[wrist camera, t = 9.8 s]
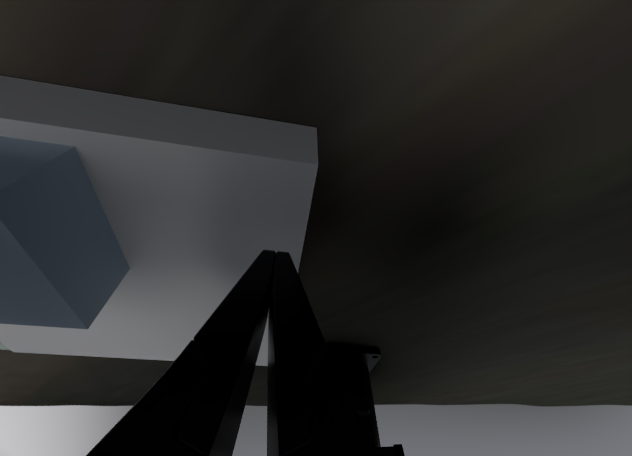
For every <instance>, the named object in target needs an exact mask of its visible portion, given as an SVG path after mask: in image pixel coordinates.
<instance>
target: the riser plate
mask: <svg viewBox="0 0 632 456" xmlns="http://www.w3.org/2000/svg"><path fill="white" fill-rule="evenodd" d="M0 136H4V137H11V138H18V139H25V140H32V141H39V142H46V143H53V144H60V145H68V146H75V148H76V151H77V153H78V155H79V157H80V159H81V162H82V164H83V166H84V168H85V170H86V173H87V175H88V177H89V179H90V181H91V184H92V186H93V188H94V190H95V192H96V195H97V197H98V199H99V201H100V203H101V206H102V208H103V210H104V212H105V214H106V217H107V219H108V221H109V223H110V225H111V228H112V230H113V232H114V234H115V236H116V239H117V241H118V243H119V245H120V247H121V250H122V252H123V254H124V256H125V258H126V261H127V263H128V265H129V267H130V270H129V271H128V272H127V274H126V275H125V277H124V278H123V280H122V281H121V282H120V284H119V285H118V287H117V288H116V290H115V291H114V293H113V294H112V295H111V297H110V298H109V300H108V301H107V303H106V304H105V305H104V307H103V308H102V310H101V311H100V313H99V314H98V315H97V317H96V318H95V320H94V321H93V323H92V324H91V326H90V327H89V328H88V329H74V328H59V327H44V326H29V325H13V324H0V343H2V344H3V345H4V346H6V347H7V348H8V349H10V350H11V351H12V352H22V353H40V354H59V355H77V356H95V357H113V358H132V359H150V360H168V361H175V360H176V358H177V357H178V356H179V355H180V354H181V352H182V351H183V350H184V349H185V347H186V346H187V345H188V344H189V342H190V341H191V340H194V339H193V338H194V336H195V335H196V334H197V332H198V331H199V330H200V329H201V327H202V326H203V325H204V324H205V322H206V321H207V320H208V318H209V317H210V316H211V315H212V313H213V312H214V311H215V310H216V308H217V307H218V306H219V305H220V303H221V302H222V301H223V300H224V298H225V297H226V296H227V294H228V293H229V292H230V291H231V289H232V288H233V287H234V286H235V284H236V283H237V282H238V281H239V279H240V278H241V277H242V275H243V274H244V273H245V272H246V270H247V269H248V268H249V267H250V265H251V264H252V263H253V262H254V260H255V259H256V258H257V257H258V255H259V254H260V253H261V252H262V251H263V250H273V251H275V252H277V251H282V252H289V253H290V255H291V258H292V260H293V263H294V265H295V268H296V270H297V273H298V270H299V265H300V260H301V254H302V249H303V244H304V238H305V233H306V228H307V222H308V217H309V212H310V206H311V201H312V196H313V190H314V185H315V180H316V175H317V169H318V146H317V128H316V127H310V126H304V125H298V124H292V123H286V122H280V121H274V120H268V119H261V118H255V117H249V116H243V115H237V114H231V113H225V112H219V111H213V110H207V109H201V108H195V107H189V106H183V105H177V104H171V103H165V102H159V101H152V100H146V99H140V98H134V97H128V96H122V95H116V94H110V93H104V92H98V91H92V90H86V89H80V88H74V87H68V86H62V85H56V84H50V83H43V82H37V81H31V80H25V79H19V78H13V77H7V76H1V75H0ZM268 316H269V313H268ZM256 365H260V366H268V319H267V323H266V327H265V331H264V335H263V339H262V343H261V346H260V350H259V354H258V358H257V362H256Z"/></svg>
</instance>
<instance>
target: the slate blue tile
mask: <svg viewBox="0 0 632 456" xmlns="http://www.w3.org/2000/svg"><path fill="white" fill-rule="evenodd" d="M129 270H130V267H129V265H128V263H127V261H126V258H125V256H124V254H123V252H122V250H121V247H120V245H119V243H118V241H117V239H116V236H115V234H114V232H113V230H112V228H111V225H110V223H109V221H108V219H107V217H106V214H105V212H104V210H103V208H102V206H101V203H100V201H99V199H98V197H97V195H96V192H95V190H94V188H93V186H92V184H91V181H90V179H89V177H88V175H87V173H86V170H85V168H84V166H83V164H82V162H81V159H80V157H79V155H78V153H77V151H76V148H75V146H68V145H60V144H53V143H46V142H39V141H32V140H25V139H18V138H11V137H4V136H0V324H13V325H29V326H44V327H59V328H74V329H88V328H89V327H90V326H91V324H92V323H93V321H94V320H95V318H96V317H97V315H98V314H99V313H100V311H101V310H102V308H103V307H104V305H105V304H106V303H107V301H108V300H109V298H110V297H111V295H112V294H113V293H114V291H115V290H116V288H117V287H118V285H119V284H120V282H121V281H122V280H123V278H124V277H125V275H126V274H127V272H128V271H129Z"/></svg>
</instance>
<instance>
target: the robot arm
mask: <svg viewBox="0 0 632 456" xmlns="http://www.w3.org/2000/svg"><path fill="white" fill-rule="evenodd" d="M268 313H269V316H268ZM267 319H268V391H267V456H404V452H403V447H402V445H401V444H399V445H398V444H397V445H394V446H393V447H381V446H380V439H379V433H378V427H377V421H376V414H375V408H374V401H373V395H372V388H371V382H370V376H369V373H370V371H371V370H372V369H373V367H374V366H375V365H376V363H377V362H378V361H379V359H380V358H381V352H380V350H377V349H364V348H349V347H334V346H326V343H325V341H324V338H323V336H322V333H321V331H320V328H319V326H318V323H317V321H316V318H315V316H314V313H313V311H312V308H311V306H310V303H309V300H308V298H307V295H306V293H305V290H304V288H303V285H302V283H301V280H300V278H299V275H298V273H297V270H296V268H295V265H294V263H293V260H292V258H291V255H290V253H289V252H282V251H277V252H275V251H273V250H263V251H262V252H261V253H260V254H259V255H258V257H257V258H256V259H255V260H254V262H253V263H252V264H251V265H250V267H249V268H248V269H247V270H246V272H245V273H244V274H243V275H242V277H241V278H240V279H239V281H238V282H237V283H236V284H235V286H234V287H233V288H232V289H231V291H230V292H229V293H228V294H227V296H226V297H225V298H224V300H223V301H222V302H221V303H220V305H219V306H218V307H217V308H216V310H215V311H214V312H213V313H212V315H211V316H210V317H209V318H208V320H207V321H206V322H205V324H204V325H203V326H202V327H201V329H200V330H199V331H198V332H197V334H196V335H195V336H194V338H193V339H194V340H191V341H190V342H189V344H188V345H187V346H186V347H185V349H184V350H183V351H182V352H181V354H180V355H179V356H178V357H177V358H176V360H175V361H174V362H173V363H172V364H171V366H170V367H169V368H168V369H167V370H166V372H165V373H164V374H163V375H162V376H161V377H160V378H159V379H158V380H157V382H156V383H155V384H154V385H153V386H152V387H151V388H150V389H149V390H148V391H147V392H146V394H145V395H144V396H143V397H142V398H141V399H140V400H139V401H138V402H137V403H136V404H135V405H134V406H133V407H132V409H130V410H129V411H128V412H127V414H126V415H125V416H124V417H123V418H122V419H121V420H120V421H119V422H118V423H117V424H116V425H115V426H114V427H113V428H112V429H111V430H110V431H109V432H108V433H107V434H106V435H105V436H104V438H103V439H102V440H101V441H100V442H99V443H98V444H97V445H96V446H95V447H94V448H93V449H92V450H91V451H90V452H89V453H88V454H87V455H86V456H232V453H233V450H234V446H235V442H236V438H237V434H238V430H239V427H240V423H241V419H242V415H243V412H244V408H245V404H246V400H247V396H248V392H249V389H250V385H251V381H252V377H253V373H254V369H255V366H256V362H257V358H258V354H259V350H260V346H261V343H262V339H263V335H264V331H265V327H266V323H267Z"/></svg>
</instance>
